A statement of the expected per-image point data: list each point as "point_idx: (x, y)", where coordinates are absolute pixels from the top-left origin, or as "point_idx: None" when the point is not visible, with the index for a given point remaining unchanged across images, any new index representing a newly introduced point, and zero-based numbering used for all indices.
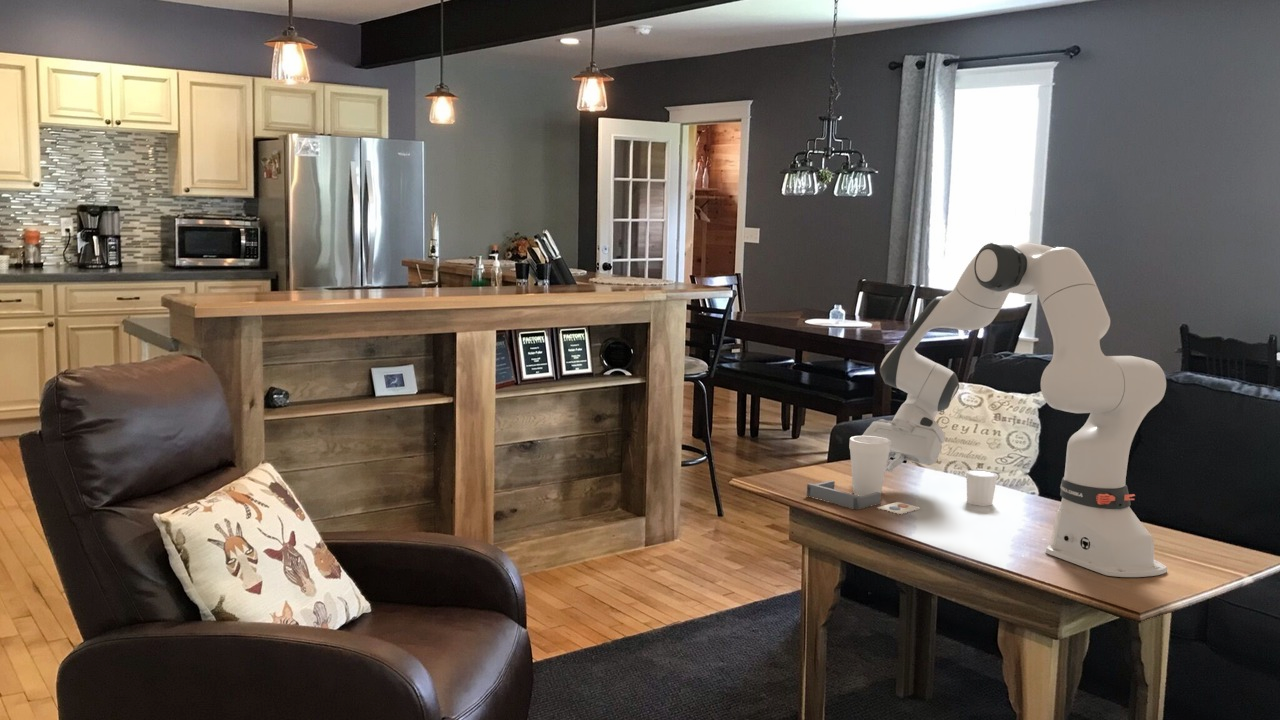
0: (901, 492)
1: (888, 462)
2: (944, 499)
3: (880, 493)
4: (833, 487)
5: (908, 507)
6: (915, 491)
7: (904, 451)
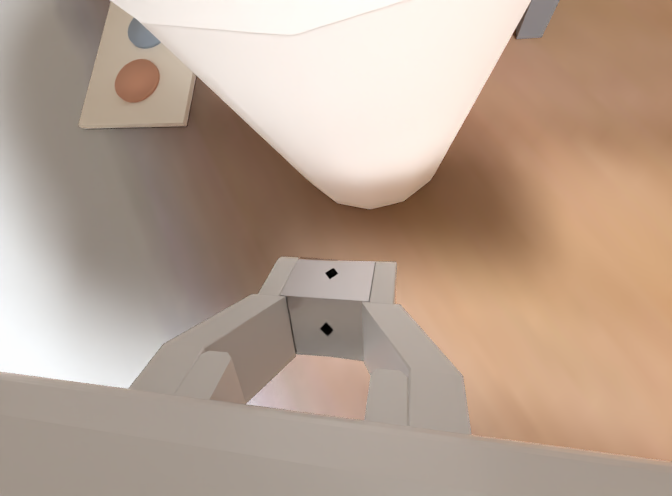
0: None
1: (302, 291)
2: (45, 376)
3: None
4: (524, 13)
5: (115, 86)
6: None
7: (12, 384)
